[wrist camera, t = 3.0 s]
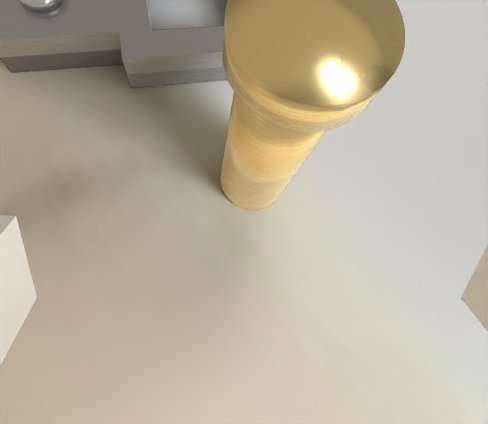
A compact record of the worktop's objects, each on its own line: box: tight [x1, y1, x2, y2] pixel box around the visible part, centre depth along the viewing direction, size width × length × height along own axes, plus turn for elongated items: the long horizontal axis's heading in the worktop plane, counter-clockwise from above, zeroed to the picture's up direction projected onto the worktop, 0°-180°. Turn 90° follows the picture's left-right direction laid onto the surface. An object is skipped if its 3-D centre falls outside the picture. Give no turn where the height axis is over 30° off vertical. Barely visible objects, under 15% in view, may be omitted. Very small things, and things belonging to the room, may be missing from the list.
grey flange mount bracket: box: [0, 0, 228, 88], centre depth 25 cm, size 24×10×4 cm, turn 99°
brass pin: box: [220, 0, 405, 210], centre depth 18 cm, size 5×5×14 cm
